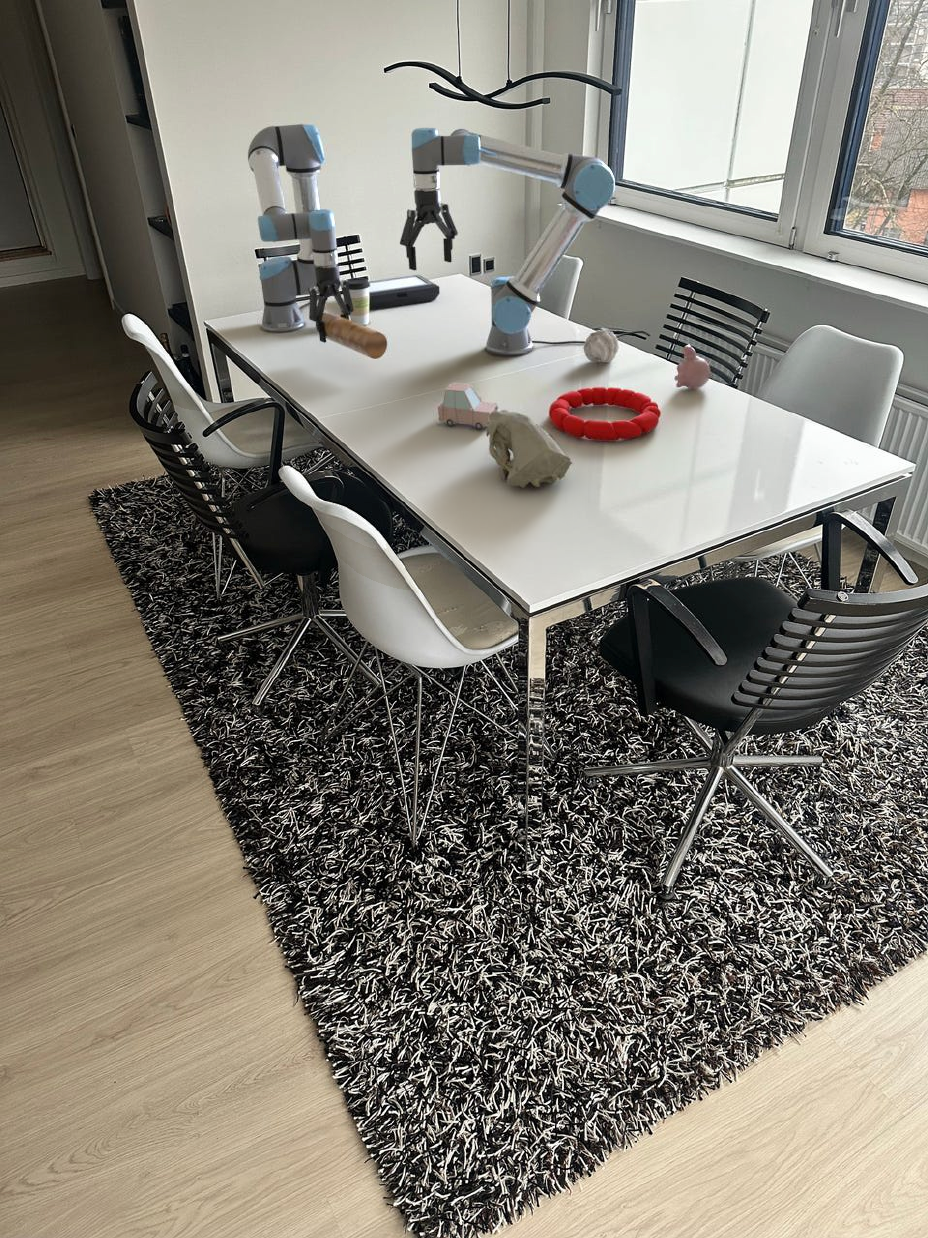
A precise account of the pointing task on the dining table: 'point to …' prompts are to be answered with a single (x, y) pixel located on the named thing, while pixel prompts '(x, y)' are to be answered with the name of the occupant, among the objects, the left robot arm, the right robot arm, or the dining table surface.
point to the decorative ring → (604, 428)
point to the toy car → (465, 406)
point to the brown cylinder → (354, 335)
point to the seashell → (601, 346)
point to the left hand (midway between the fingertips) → (334, 338)
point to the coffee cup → (359, 299)
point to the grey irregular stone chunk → (525, 450)
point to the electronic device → (401, 291)
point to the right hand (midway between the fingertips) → (430, 265)
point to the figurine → (692, 370)
